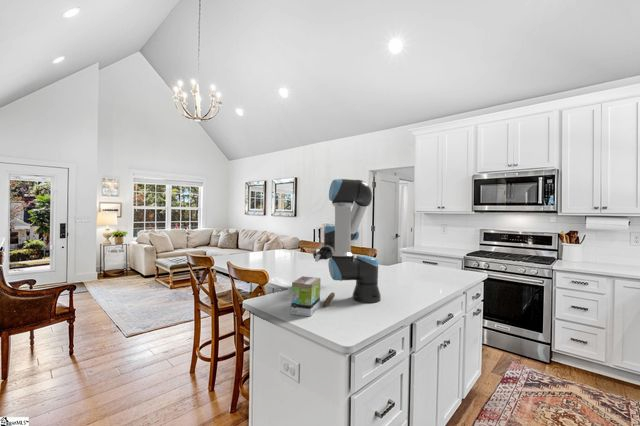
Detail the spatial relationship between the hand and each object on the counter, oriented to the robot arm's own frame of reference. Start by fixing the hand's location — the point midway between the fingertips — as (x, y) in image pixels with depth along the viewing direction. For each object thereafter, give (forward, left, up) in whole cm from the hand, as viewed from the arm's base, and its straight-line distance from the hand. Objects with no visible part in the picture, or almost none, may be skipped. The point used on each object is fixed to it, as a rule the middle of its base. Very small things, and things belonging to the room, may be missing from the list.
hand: (316, 258), depth 163 cm
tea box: (0, +18, -22) cm, 28 cm away
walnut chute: (0, +1, -22) cm, 22 cm away
